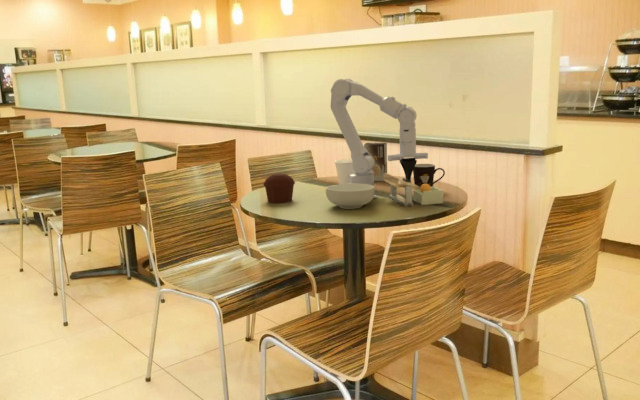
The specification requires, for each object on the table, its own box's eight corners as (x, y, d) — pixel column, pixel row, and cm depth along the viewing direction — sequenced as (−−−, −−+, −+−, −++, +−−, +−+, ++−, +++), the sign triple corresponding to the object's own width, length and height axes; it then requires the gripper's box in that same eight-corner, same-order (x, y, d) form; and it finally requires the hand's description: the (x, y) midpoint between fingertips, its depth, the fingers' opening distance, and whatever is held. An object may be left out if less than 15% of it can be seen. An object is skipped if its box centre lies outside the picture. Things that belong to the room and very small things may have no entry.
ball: (428, 196, 204) (420, 191, 203) (424, 194, 207) (416, 189, 206) (434, 188, 203) (426, 182, 202) (430, 186, 207) (422, 180, 206)
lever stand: (404, 206, 200) (404, 186, 198) (389, 197, 216) (389, 178, 215) (413, 205, 200) (413, 185, 199) (397, 196, 217) (396, 178, 215)
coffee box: (388, 179, 255) (387, 142, 252) (385, 181, 249) (384, 144, 246) (367, 178, 258) (366, 142, 254) (364, 181, 252) (363, 144, 248)
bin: (422, 204, 201) (422, 192, 200) (413, 200, 209) (413, 187, 208) (443, 203, 203) (443, 190, 202) (433, 198, 211) (433, 186, 210)
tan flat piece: (395, 186, 199) (396, 178, 199) (382, 180, 213) (384, 172, 212) (419, 189, 201) (421, 181, 201) (405, 183, 215) (407, 175, 214)
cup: (359, 185, 243) (359, 158, 241) (359, 189, 233) (358, 162, 231) (336, 185, 244) (335, 159, 242) (334, 189, 234) (333, 162, 232)
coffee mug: (409, 192, 224) (409, 166, 222) (416, 188, 231) (416, 163, 229) (438, 194, 218) (439, 167, 216) (445, 190, 226) (445, 164, 224)
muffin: (267, 205, 210) (265, 177, 208) (261, 199, 220) (260, 173, 218) (299, 202, 213) (298, 175, 211) (292, 196, 223) (291, 170, 221)
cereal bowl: (384, 205, 202) (384, 185, 201) (352, 214, 191) (351, 193, 190) (348, 199, 214) (348, 180, 213) (316, 207, 203) (315, 187, 202)
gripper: (391, 144, 203) (392, 182, 206) (431, 141, 206) (431, 179, 209) (385, 142, 210) (386, 179, 213) (423, 139, 213) (424, 176, 216)
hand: (408, 179), depth 211 cm, fingers closed, pressing on tan flat piece
